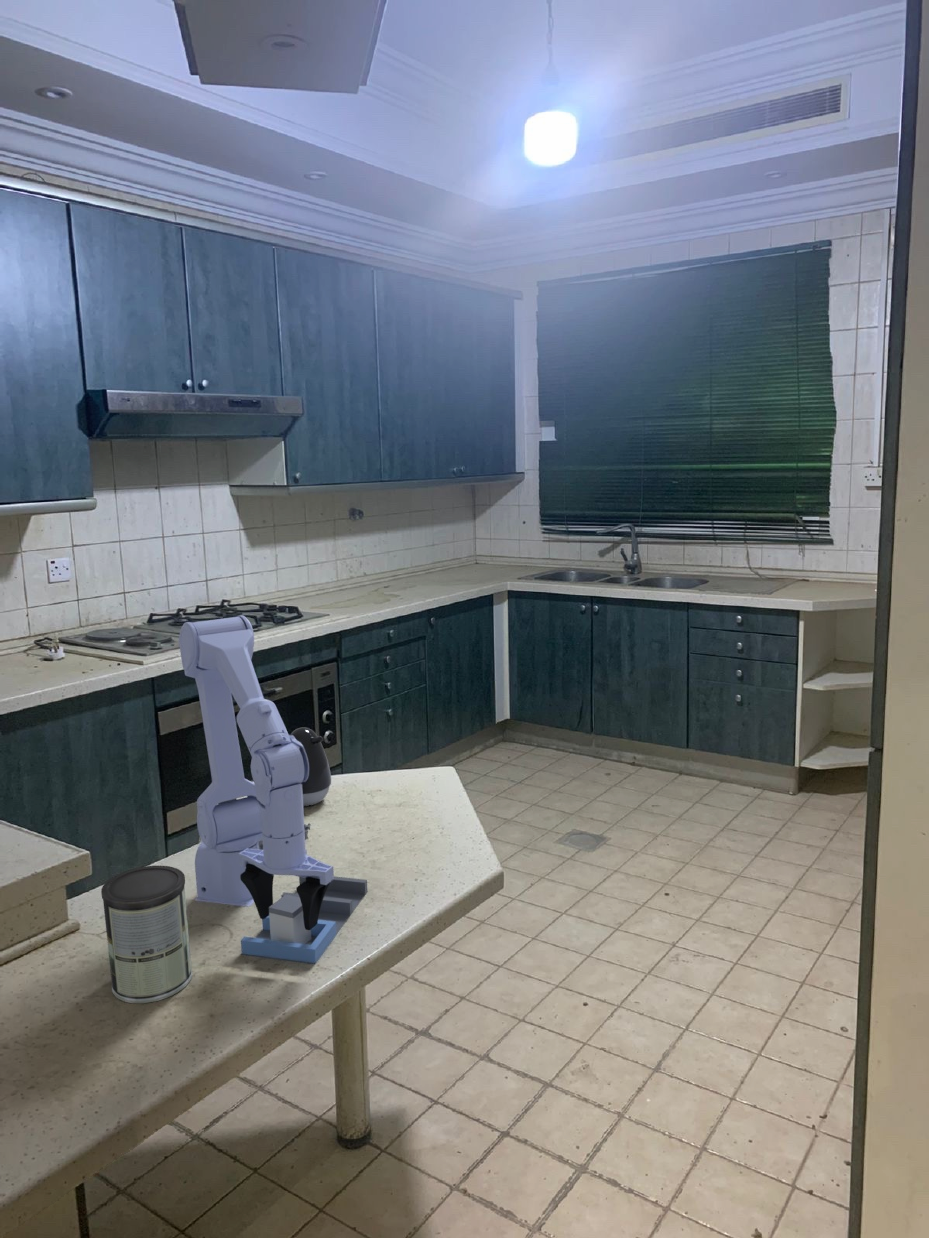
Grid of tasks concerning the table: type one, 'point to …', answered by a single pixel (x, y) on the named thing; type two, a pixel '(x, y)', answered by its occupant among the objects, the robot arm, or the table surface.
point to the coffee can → (147, 933)
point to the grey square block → (288, 921)
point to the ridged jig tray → (331, 918)
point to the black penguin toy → (314, 766)
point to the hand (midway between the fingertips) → (288, 920)
